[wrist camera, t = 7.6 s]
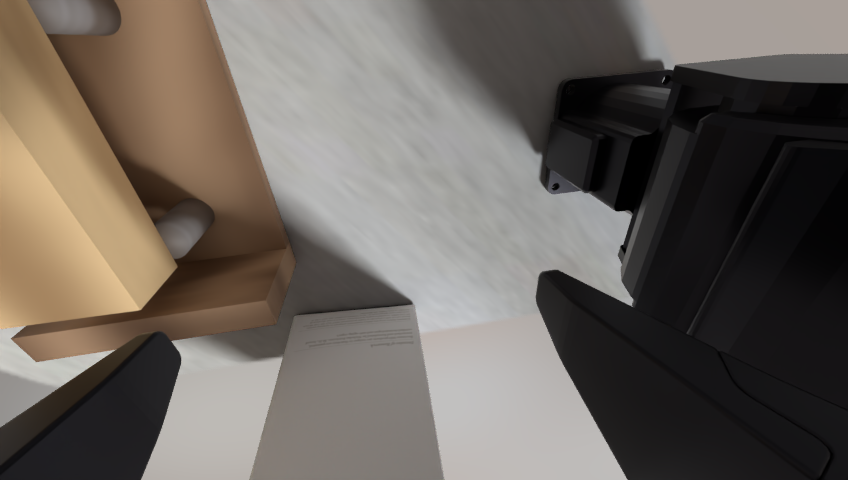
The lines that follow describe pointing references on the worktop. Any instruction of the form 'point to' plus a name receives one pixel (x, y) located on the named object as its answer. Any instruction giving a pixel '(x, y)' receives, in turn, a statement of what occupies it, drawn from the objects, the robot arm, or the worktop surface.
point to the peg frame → (172, 170)
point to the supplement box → (351, 401)
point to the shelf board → (63, 195)
